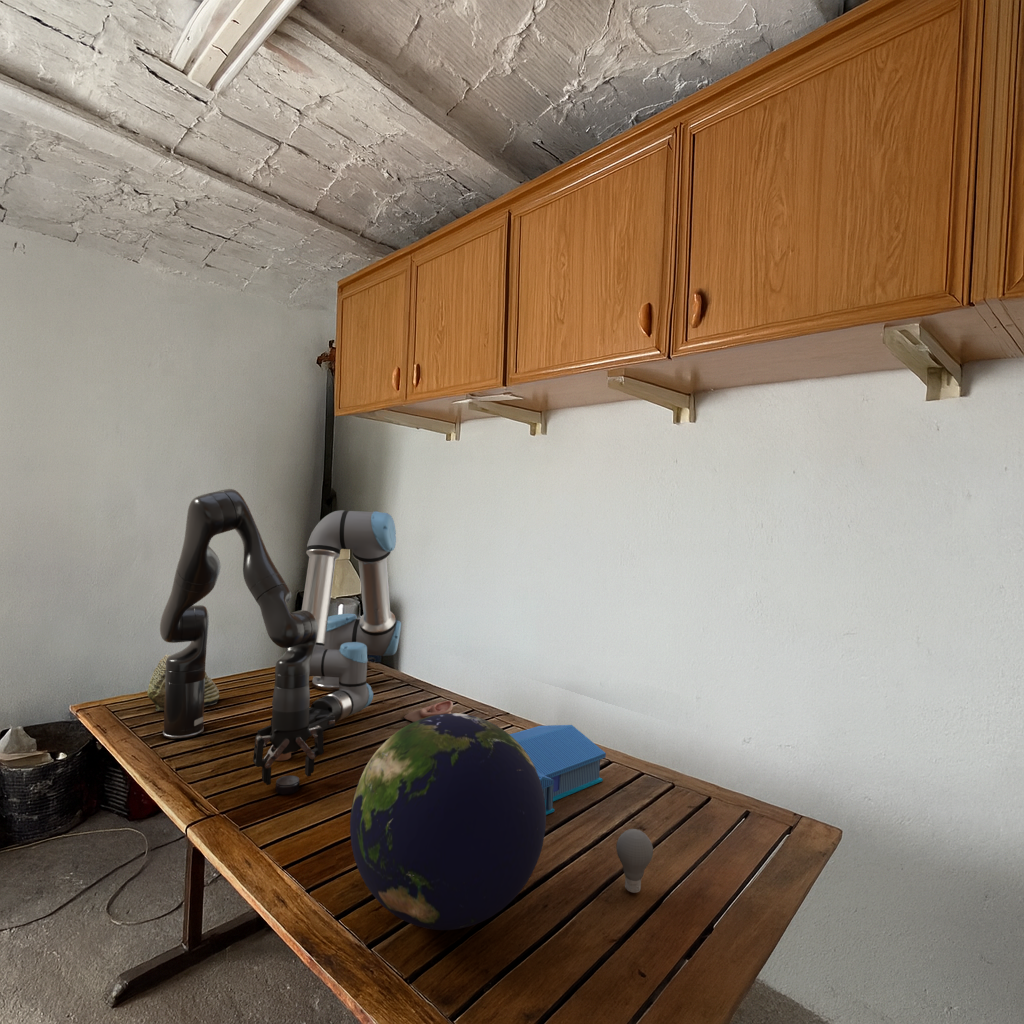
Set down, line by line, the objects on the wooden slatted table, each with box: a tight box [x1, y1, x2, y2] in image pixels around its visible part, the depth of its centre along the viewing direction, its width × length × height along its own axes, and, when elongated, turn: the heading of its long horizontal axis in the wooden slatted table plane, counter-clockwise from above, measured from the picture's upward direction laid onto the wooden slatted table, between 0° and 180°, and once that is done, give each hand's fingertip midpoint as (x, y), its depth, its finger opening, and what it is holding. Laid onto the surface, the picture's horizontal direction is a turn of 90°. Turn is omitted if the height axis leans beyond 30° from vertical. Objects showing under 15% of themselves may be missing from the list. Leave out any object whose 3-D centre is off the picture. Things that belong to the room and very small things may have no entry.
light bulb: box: [615, 828, 654, 894], centre depth 106 cm, size 6×6×10 cm
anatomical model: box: [403, 700, 454, 723], centre depth 184 cm, size 13×4×12 cm
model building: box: [509, 724, 607, 816], centre depth 141 cm, size 39×24×10 cm, turn 132°
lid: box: [275, 774, 300, 796], centre depth 136 cm, size 5×5×2 cm
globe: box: [349, 712, 547, 931], centre depth 98 cm, size 30×30×30 cm
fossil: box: [147, 654, 221, 712], centre depth 185 cm, size 9×18×15 cm, turn 132°
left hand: (288, 779), depth 137 cm, fingers open, 8 cm apart
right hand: (266, 738), depth 148 cm, fingers closed on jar, 4 cm apart
